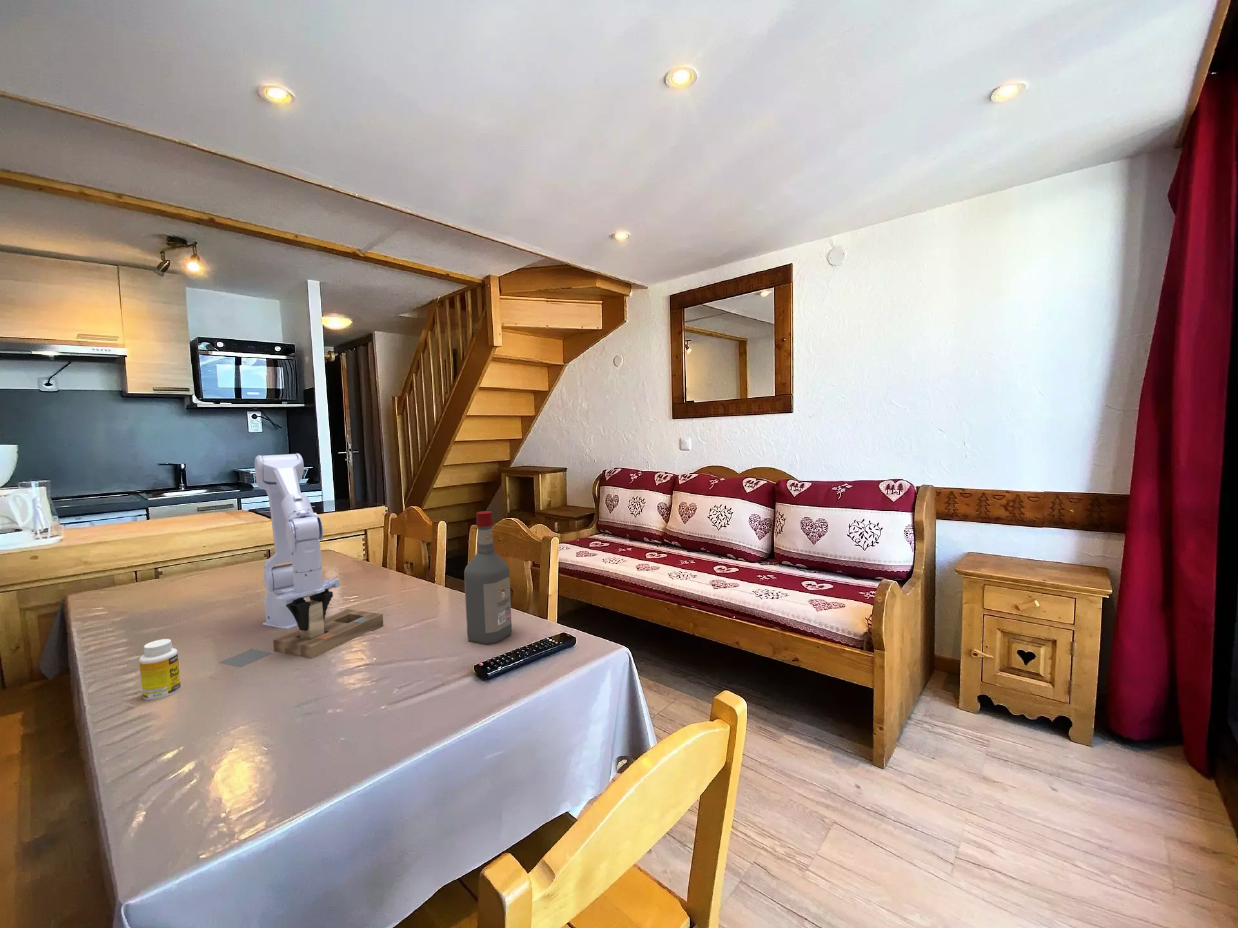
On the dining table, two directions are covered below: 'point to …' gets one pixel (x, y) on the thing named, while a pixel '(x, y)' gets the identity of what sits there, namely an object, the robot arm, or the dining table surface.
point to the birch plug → (314, 621)
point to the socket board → (330, 633)
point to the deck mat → (245, 658)
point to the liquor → (487, 589)
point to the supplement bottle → (159, 670)
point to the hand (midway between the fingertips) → (311, 626)
